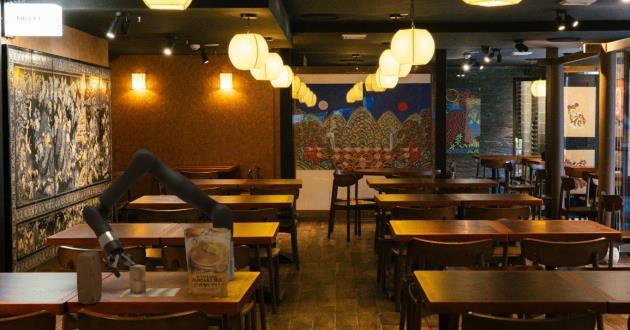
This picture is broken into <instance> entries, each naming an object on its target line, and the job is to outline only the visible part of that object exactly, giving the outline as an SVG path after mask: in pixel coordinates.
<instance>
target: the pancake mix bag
mask: <svg viewBox="0 0 630 330" xmlns="http://www.w3.org/2000/svg"><path fill="white" fill-rule="evenodd" d="M183 234H184V236H183V237H184V244H185V245H184V246H185V258H186V264H187V265H186V266H187V277H188V294H192V295H200V296H201V295H205V296H206V295H211V296H210V297H223V298H226V297H229V292H228V284H229V281H228V277H229V266H230V256H231V230H228V228H213V227H187V228H185V229H183Z"/></svg>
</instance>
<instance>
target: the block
mask: <svg viewBox="0 0 630 330" xmlns="http://www.w3.org/2000/svg"><path fill="white" fill-rule="evenodd" d="M76 261H77V263H76V292H77V293H76V294H77V302H78V303H79V304H81V305H93V304H98V303H99V302H100V300H101V297H102V296H103V295H102V294H103V274H102V265H101V264H102V263H101V260H100V254H99V251H97V250H95V251H94V250H92V251H91V250H90V251H84V252H81V253H79V254H78V255H77V257H76Z"/></svg>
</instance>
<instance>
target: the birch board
mask: <svg viewBox="0 0 630 330" xmlns="http://www.w3.org/2000/svg"><path fill="white" fill-rule="evenodd" d="M180 290H181V287H178V288H177V287H173V288H172V287H167V288H165V287H164V288H163V287H161V288H157V287H155V288H152V287H150V288H149V287H148V288H146V293H142V294H138V295H136V294H132V293H130V288H127V289H126V290H125V291H124V292H123V293H122V294H120V296H119V297H120V298H136V297H137V298H139V297H140V298H141V297H142V298H145V297H147V298H149V297H150V298H151V297H152V298H153V297H175V296H176V295H177V293H178V292H179V291H180Z"/></svg>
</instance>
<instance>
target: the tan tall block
mask: <svg viewBox="0 0 630 330" xmlns="http://www.w3.org/2000/svg"><path fill="white" fill-rule="evenodd" d="M146 273H147V272H146V265H142V264H136V265H134V266H130V267H129V289H130V293H132V294H136V295H138V294H142V293H146V289H147V278H146V277H147V276H146Z"/></svg>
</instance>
